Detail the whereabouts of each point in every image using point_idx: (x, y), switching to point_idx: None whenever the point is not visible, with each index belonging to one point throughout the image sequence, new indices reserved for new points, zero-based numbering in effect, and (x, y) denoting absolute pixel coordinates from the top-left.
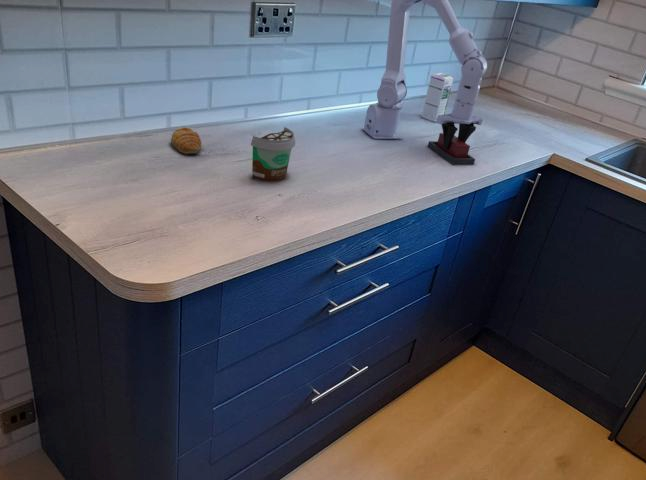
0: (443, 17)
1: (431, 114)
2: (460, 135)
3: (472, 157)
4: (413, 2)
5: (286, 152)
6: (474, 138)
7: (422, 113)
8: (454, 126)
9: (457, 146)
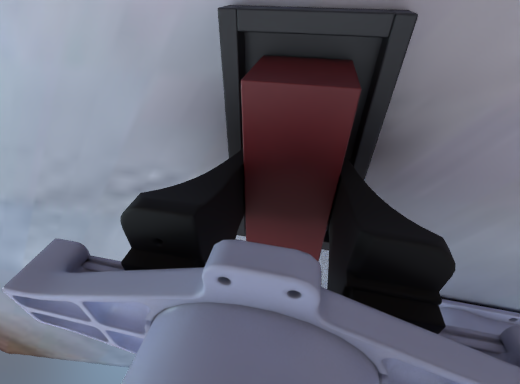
0: None
1: None
2: (235, 216)
3: (223, 43)
4: None
5: None
6: (100, 246)
7: None
8: (363, 271)
9: (357, 100)
